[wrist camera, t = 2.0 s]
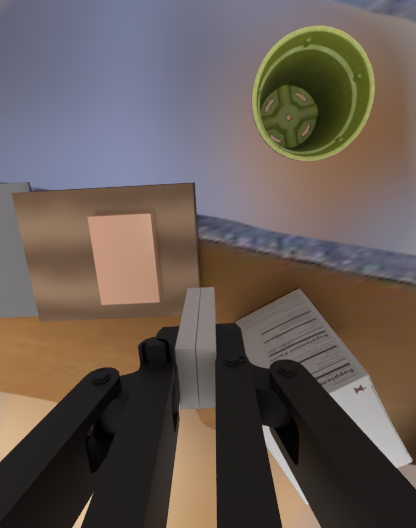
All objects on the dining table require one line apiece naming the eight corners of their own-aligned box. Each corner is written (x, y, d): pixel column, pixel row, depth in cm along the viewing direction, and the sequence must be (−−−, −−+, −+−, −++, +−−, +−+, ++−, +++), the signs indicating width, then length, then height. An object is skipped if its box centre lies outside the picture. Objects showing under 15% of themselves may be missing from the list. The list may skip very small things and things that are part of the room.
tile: (162, 295, 33) (159, 302, 31) (107, 297, 33) (101, 304, 31) (154, 211, 31) (150, 213, 29) (95, 214, 31) (87, 216, 29)
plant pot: (225, 137, 32) (229, 123, 24) (272, 47, 30) (295, -3, 22) (299, 181, 34) (328, 182, 25) (350, 97, 31) (400, 69, 23)
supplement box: (232, 320, 38) (248, 425, 22) (299, 285, 37) (368, 369, 21) (268, 377, 41) (306, 511, 24) (332, 346, 39) (418, 465, 23)
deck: (202, 300, 38) (200, 314, 34) (57, 307, 38) (39, 321, 34) (194, 182, 34) (192, 183, 30) (34, 191, 34) (11, 193, 30)
